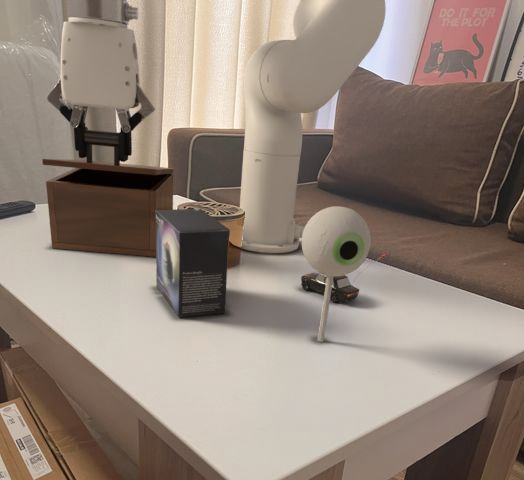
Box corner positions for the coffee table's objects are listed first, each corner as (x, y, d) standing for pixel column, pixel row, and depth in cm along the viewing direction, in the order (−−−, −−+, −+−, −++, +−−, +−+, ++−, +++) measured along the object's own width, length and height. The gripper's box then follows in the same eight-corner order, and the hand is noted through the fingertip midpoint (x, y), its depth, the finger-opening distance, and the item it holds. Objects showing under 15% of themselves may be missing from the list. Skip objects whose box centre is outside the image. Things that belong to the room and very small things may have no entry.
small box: (152, 287, 70) (152, 207, 65) (199, 284, 72) (202, 207, 68) (175, 318, 61) (177, 229, 57) (227, 313, 64) (233, 228, 59)
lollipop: (301, 356, 56) (321, 214, 49) (281, 328, 62) (296, 198, 55) (362, 353, 58) (389, 216, 51) (336, 326, 64) (357, 200, 57)
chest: (156, 257, 82) (156, 191, 77) (51, 248, 81) (45, 181, 76) (172, 229, 98) (173, 173, 93) (85, 221, 97) (82, 165, 92)
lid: (155, 175, 76) (156, 135, 74) (42, 164, 75) (40, 124, 73) (173, 173, 93) (174, 141, 91) (82, 164, 92) (81, 132, 91)
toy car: (314, 283, 77) (322, 230, 74) (381, 310, 70) (393, 252, 66) (296, 287, 75) (303, 232, 71) (364, 316, 67) (376, 256, 64)
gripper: (167, 23, 73) (166, 160, 81) (42, 10, 72) (53, 150, 80) (158, 17, 66) (158, 167, 74) (20, 2, 65) (35, 156, 73)
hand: (104, 157), depth 77 cm, fingers closed on lid, 5 cm apart
